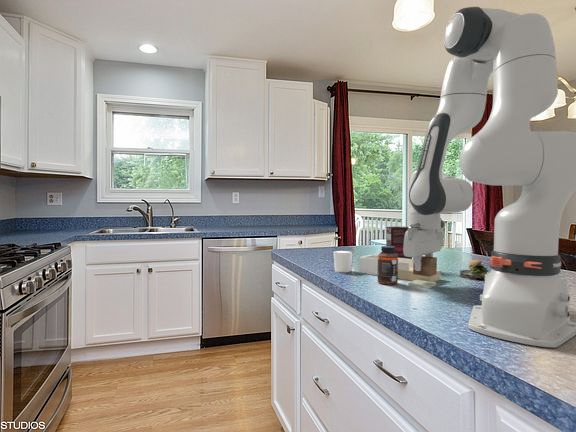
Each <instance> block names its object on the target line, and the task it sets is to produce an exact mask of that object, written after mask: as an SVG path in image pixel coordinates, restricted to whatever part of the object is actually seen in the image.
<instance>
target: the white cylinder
mask: <svg viewBox="0 0 576 432" xmlns="http://www.w3.org/2000/svg"><path fill="white" fill-rule="evenodd" d="M332 252H333V262H334V263H333V265H334V271H335V272H337V273H351V270H352V262H353V251H350V250H336V251H332Z"/></svg>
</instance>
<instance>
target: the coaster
mask: <svg viewBox="0 0 576 432" xmlns="http://www.w3.org/2000/svg"><path fill="white" fill-rule="evenodd" d="M407 283H408V284H407V285H408V286H409V287H410V286H411V287H417V288H423V289H430V288H433V287H436V285H437V281H436V282H429V281H423V280H414V281H408V282H407Z"/></svg>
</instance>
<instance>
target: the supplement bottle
mask: <svg viewBox="0 0 576 432" xmlns="http://www.w3.org/2000/svg"><path fill="white" fill-rule="evenodd" d="M380 251H381V252H379V253H378V254H377V255H378V275H377V283H379V284H380V285H387V286H389V285H390V286H391V285H392V286H394V285H397V284H398V280H399V279H398V255H397V254H396V253H395V247H394V246H386V245H382V246H381V248H380Z"/></svg>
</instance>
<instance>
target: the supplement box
mask: <svg viewBox="0 0 576 432" xmlns="http://www.w3.org/2000/svg"><path fill="white" fill-rule="evenodd" d="M385 230H386V232H385V233H386V234H385V236H386V240H385V241H386V242H385V244H386V245H385V246H394V247H395V253H396V254H397V255H398V258H405V259H413V257H406V256H404V253H403V248H404V237H405V233H406V231H407V230H408V226H386V229H385Z"/></svg>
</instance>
